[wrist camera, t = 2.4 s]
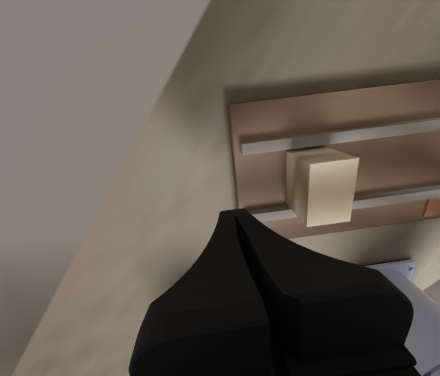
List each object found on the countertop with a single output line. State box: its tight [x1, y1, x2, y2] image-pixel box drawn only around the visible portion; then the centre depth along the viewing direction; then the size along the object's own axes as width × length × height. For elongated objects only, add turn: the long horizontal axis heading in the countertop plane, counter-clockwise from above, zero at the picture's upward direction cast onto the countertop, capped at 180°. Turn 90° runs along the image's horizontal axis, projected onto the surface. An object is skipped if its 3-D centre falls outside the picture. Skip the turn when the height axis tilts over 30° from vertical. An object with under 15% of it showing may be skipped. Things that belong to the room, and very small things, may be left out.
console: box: [228, 79, 440, 239], centre depth 17 cm, size 12×24×2 cm, turn 96°
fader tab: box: [286, 147, 359, 227], centre depth 15 cm, size 4×3×4 cm
